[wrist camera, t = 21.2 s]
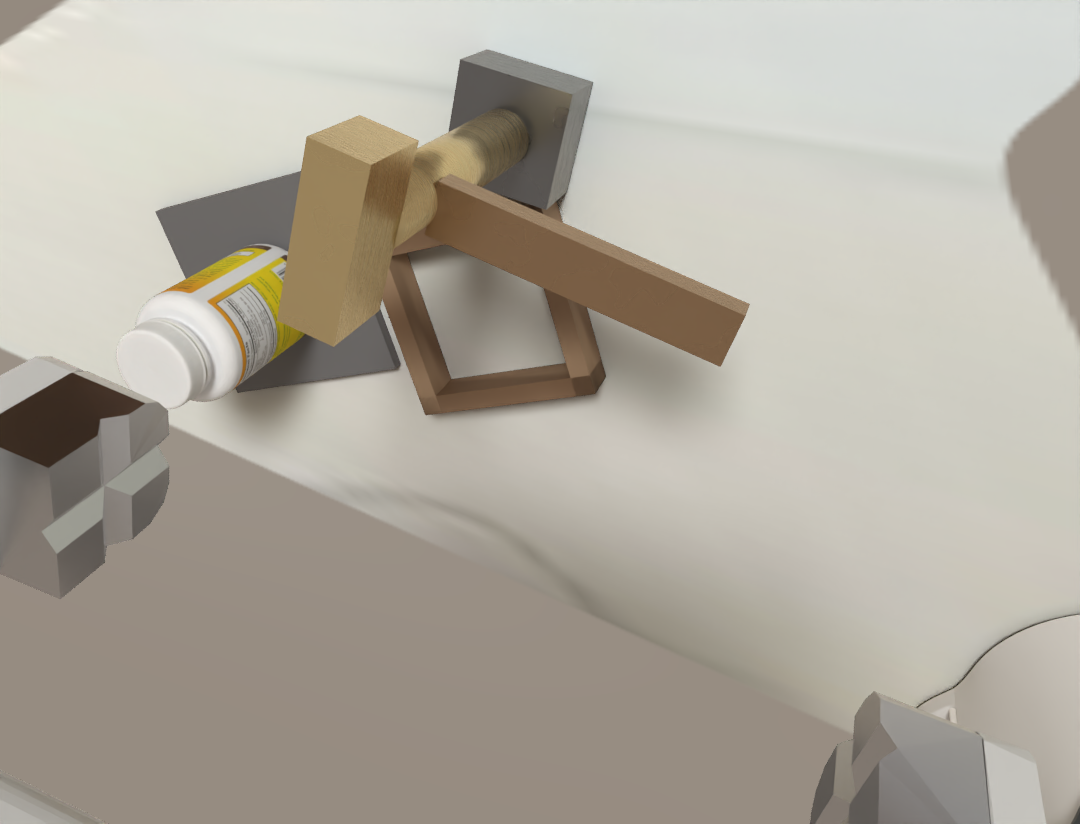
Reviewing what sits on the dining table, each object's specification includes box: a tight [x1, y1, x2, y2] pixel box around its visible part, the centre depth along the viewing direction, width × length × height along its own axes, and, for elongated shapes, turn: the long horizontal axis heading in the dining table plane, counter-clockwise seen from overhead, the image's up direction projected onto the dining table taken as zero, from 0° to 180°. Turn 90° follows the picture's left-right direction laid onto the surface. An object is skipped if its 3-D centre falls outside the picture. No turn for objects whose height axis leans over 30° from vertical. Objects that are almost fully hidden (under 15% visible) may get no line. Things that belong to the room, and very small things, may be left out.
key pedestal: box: [449, 50, 593, 210], centre depth 41 cm, size 5×5×3 cm
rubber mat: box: [156, 171, 400, 393], centre depth 50 cm, size 11×11×1 cm
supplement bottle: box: [116, 244, 306, 409], centre depth 46 cm, size 6×6×10 cm
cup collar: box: [382, 199, 606, 415], centre depth 46 cm, size 10×10×2 cm
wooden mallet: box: [277, 109, 750, 367], centre depth 32 cm, size 13×6×15 cm, turn 72°
